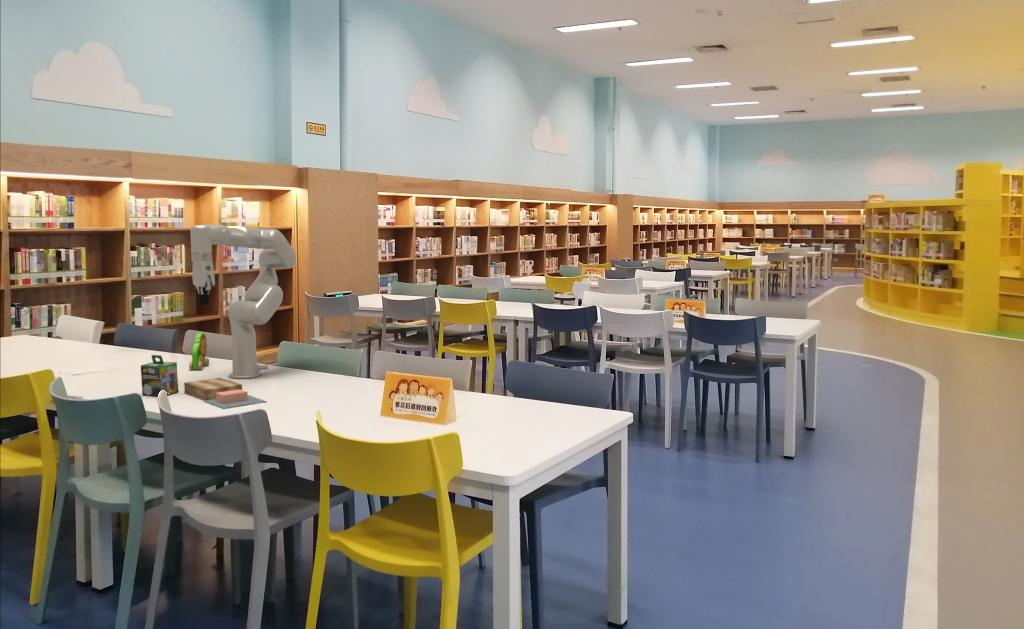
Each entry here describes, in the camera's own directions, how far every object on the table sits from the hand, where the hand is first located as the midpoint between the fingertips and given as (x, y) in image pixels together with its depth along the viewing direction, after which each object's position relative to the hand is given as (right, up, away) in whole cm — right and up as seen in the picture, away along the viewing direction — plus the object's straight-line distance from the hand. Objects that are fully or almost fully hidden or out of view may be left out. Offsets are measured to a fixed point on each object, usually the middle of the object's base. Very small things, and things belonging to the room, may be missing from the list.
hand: (203, 304), depth 308 cm
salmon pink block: (+19, -32, -24) cm, 44 cm away
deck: (+8, -34, -12) cm, 36 cm away
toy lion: (-18, -28, +42) cm, 54 cm away
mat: (+21, -35, -24) cm, 47 cm away
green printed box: (-12, -34, -12) cm, 38 cm away
